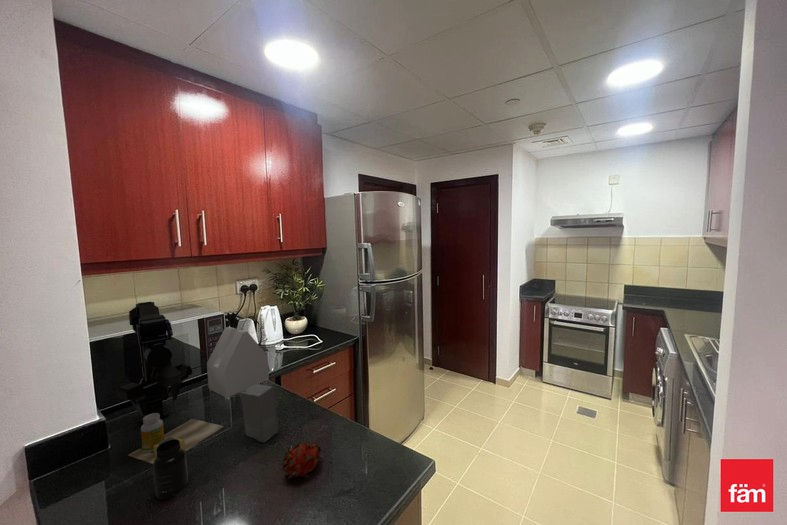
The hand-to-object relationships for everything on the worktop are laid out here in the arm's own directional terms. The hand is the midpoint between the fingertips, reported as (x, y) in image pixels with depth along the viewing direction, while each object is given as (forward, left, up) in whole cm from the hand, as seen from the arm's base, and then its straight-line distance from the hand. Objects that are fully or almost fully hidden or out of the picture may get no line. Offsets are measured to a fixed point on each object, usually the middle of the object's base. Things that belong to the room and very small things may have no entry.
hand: (159, 407), depth 97 cm
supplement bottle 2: (+21, -11, -13) cm, 27 cm away
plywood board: (+4, +3, -12) cm, 13 cm away
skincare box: (+26, +14, -13) cm, 32 cm away
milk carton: (-12, +41, -13) cm, 44 cm away
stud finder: (+7, -3, -11) cm, 14 cm away
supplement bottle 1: (0, -2, -12) cm, 12 cm away
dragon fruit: (+49, +5, -13) cm, 51 cm away
